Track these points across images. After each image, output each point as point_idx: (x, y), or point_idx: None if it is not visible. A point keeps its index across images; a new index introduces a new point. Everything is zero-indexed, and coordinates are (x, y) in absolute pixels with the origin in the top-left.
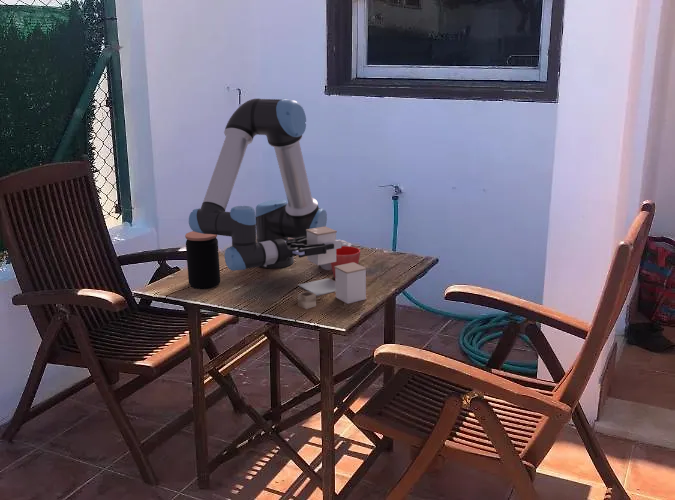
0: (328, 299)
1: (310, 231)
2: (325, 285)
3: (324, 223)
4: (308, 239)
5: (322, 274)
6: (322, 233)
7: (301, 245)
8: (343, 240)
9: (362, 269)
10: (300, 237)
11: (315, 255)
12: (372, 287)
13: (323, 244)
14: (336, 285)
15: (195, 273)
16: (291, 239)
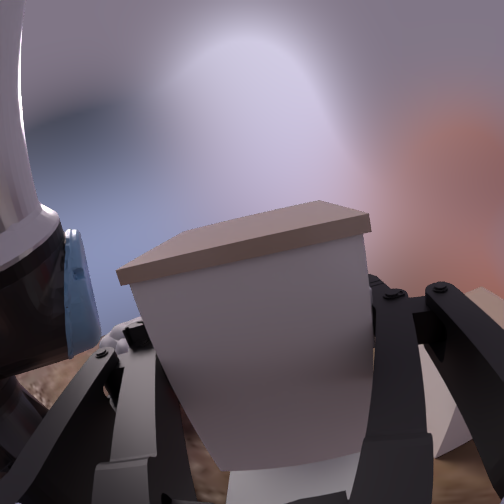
0: (450, 481)
1: (208, 249)
2: (301, 470)
3: (90, 283)
4: (185, 353)
5: (184, 433)
6: (349, 208)
7: (426, 475)
8: (139, 317)
9: (492, 294)
10: (84, 371)
11: (333, 422)
12: (373, 363)
13: (403, 293)
14: (454, 426)
15: None
16: (41, 436)
